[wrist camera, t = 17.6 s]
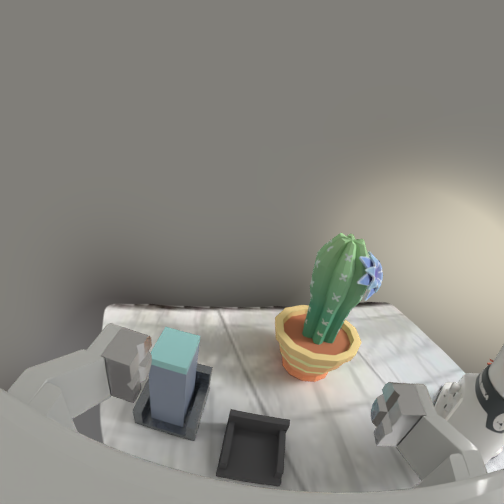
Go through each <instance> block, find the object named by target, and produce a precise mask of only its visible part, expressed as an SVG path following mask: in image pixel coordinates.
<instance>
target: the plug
mask: <svg viewBox="0 0 504 504" xmlns="http://www.w3.org/2000/svg"><path fill="white" fill-rule="evenodd" d="M199 343H200V336H198V335H194V334H190V333H187V332H183V331H179V330H176V329H172V328H168V327H165V329H164V331H163V332H162V334H161V336H160V337H159V339H158V341H157V343H156V344H155V346H154V348H153V350H152V351H151V355H152V363H151V368H150V371H149V391H150V406H151V417H152V418H155V419H158V420H161V421H164V422H168V423H171V424H174V425H178V426H181V427H183V426H184V423H185V420H186V417H187V414H188V411H189V408H190V405H191V403H192V400H193V397H194V388H195V379H196V369H197V360H198V352H199Z"/></svg>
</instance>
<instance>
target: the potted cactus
mask: <svg viewBox="0 0 504 504" xmlns="http://www.w3.org/2000/svg"><path fill="white" fill-rule="evenodd" d="M368 253H369V255H370V259H369V258H368V254H367V250H366V246H365V242H364V240H363V239H356V240H355V237H354V235H353V234H349V235H348V236H345V235H344V234H342V233H340V234H338V235H337V236H336V237H334V238H333V239H332V240H331V241H329V242H328V243H326V244H325V245H324V246H323V247H322V248H321V249H320V250H319V251H318V253H317V257H316V261H315V266H314V270H313V274H312V281H311V285H310V292H311V300H310V304H309V306H306V305H300V306H294V307H288V308H285V309H284V310H283V311H282V312H281V313H280V314H278V315H277V316H276V317H275V330H276V339H277V341H278V342H279V344H280V352H281V354H282V363H283V367H284V368H285V369H286V370H287V372H288V373H289V374H290V375H292V376H294V377H296V378H298V379H300V380H303V381H314V382H315V381H318V380H320V379H323V378H325V376H326V375H327V373H328V372H330V371H332V370H335V369H337V368H338V367H339V366H341V365H342V364H343V363H345V362H348V361H351V360H352V358H353V357H354V356H355V355H356V353H357V351H358V349H359V347H360V344H361V340H360V338H359V335H358V333H357V330H356V328H355V327H354V326H352V325H351V324H350V323H349V322H348V321H347V320H346V318H347V316H348V314H349V312H350V311H351V310H352V309H353V308H354V307H355V306H356V305H357V304H358V303H359V302H360V301H361V300H362V297H363V295H364V293H365V291H366V289H368V292H367V294H366V296H365V298H364V300H365V301H366V300H367V299H368V298H369V297H371V296H372V295H373V294H374V293H376V292H377V291H378V289H379V287H380V286H381V282H382V276H383V272H382V266H381V264H380V261H379V260H377V259H376V258H375V257H374V255H373V254H372V253H371V252H370V251H369V252H368Z"/></svg>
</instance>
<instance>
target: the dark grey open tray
mask: <svg viewBox="0 0 504 504" xmlns="http://www.w3.org/2000/svg"><path fill="white" fill-rule="evenodd" d="M289 426H290V420H288V419H281V418H275V417H269V416H263V415H257V414H252V413H247V412H242V411H237V410H232V409H231V411H230V415H229V419H228V423H227V427H226V432H225V436H224V441H223V446H222V450H221V455H220V459H219V464H218V468H217V473H216V476H219V477H223V478H229V479H234V480H239V481H245V482H252V483H258V484H266V485H274V486H280V485H281V476H282V474H283V470H284V453H285V434H286V431H287V429H288V427H289Z"/></svg>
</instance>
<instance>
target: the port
mask: <svg viewBox="0 0 504 504" xmlns="http://www.w3.org/2000/svg"><path fill="white" fill-rule="evenodd" d="M212 368H213V367H209V366H205V365H201V364H197V369H196V379H195V388H194V397H193V400H192V403H191V405H190V408H189V411H188V414H187V417H186V420H185V423H184V426H183V427H181V426H178V425H174V424H171V423H168V422H164V421H161V420H158V419H155V418H152V417H151V406H150V391H149V379H148V381H147V383H146V385H145V387H144V389H143V391H142V393H141V395H140V397H139V399H138V401H137V403H136V405H135V407H134V409H133V414H134V420H135V423H138V424H140V425H143V426H146V427H149V428H152V429H155V430H159V431H162V432H165V433H168V434H172V435H175V436H179V437H182V438H186V439H190V440H195V437H196V433H197V430H198V427H199V423H200V420H201V416H202V413H203V410H204V406H205V403H206V399H207V396H208V393H209V389H210V381H211V374H212Z"/></svg>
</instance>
